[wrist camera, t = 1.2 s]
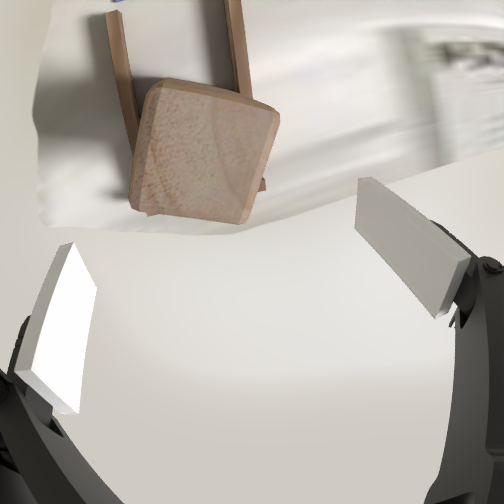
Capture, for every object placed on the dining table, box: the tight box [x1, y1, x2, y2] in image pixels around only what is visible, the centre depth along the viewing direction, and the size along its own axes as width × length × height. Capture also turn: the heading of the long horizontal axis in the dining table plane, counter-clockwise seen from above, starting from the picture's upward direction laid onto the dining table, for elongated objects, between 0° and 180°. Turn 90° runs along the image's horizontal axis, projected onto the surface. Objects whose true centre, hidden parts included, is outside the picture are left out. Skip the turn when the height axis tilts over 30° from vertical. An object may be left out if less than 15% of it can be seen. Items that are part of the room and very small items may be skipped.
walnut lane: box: [105, 0, 266, 217], centre depth 32 cm, size 16×28×5 cm, turn 7°
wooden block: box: [128, 78, 280, 225], centre depth 28 cm, size 10×10×20 cm
